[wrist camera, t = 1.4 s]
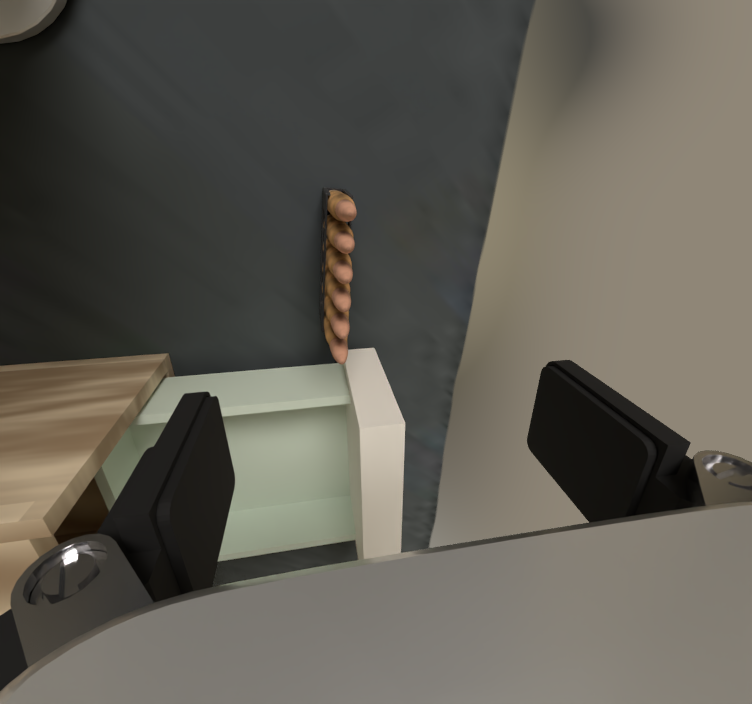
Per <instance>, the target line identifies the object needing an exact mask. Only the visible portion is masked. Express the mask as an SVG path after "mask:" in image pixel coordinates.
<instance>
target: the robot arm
mask: <svg viewBox="0 0 752 704" xmlns="http://www.w3.org/2000/svg"><path fill="white" fill-rule="evenodd" d="M66 2H67V0H0V44H2V43H10V42H18V41H22V40H24V39H27V38H29V37H32V36H34V35H37V34H39V33H40V32H41V31H43V30H44V29H45V28H47V27H48V26H49V25H50V24H52V23H53V22H54V20H55V19H56V18H57V16H58V15H59V14H60V12H61V11H62V10H63V8H64V7H65V5H66ZM527 443H528V447H529V449H530V451H531V452H532V453H533V455H534V456H535V457H536V458H537V459H538V461H539V462H540V463H541V464H542V465H543V467H544V468H545V469H546V470H547V472H548V473H549V474H550V475H551V476H552V477H553V479H554V480H555V481H556V482H557V484H558V485H559V486H560V487H561V489H562V490H563V491H564V492H565V493H566V494H567V496H568V497H569V498H570V499H571V501H572V502H573V503H574V504H575V505H576V507H577V508H578V509H579V510H580V512H581V513H582V514H583V515H584V516H585V518H586V519H587V520H588V521H589V523H584V524H578V525H571V526H565V527H558V528H552V529H546V530H540V531H533V532H527V533H521V534H515V535H509V536H503V537H496V538H490V539H483V540H477V541H471V542H465V543H459V544H453V545H447V546H440V547H435V548H428V549H422V550H416V551H410V552H404V553H398V554H392V555H386V556H380V557H374V558H368V559H362V560H356V561H350V562H344V563H338V564H332V565H326V566H320V567H315V568H309V569H303V570H298V571H293V572H287V573H282V574H276V575H271V576H265V577H260V578H255V579H249V580H244V581H238V582H233V583H228V584H224V585H219V586H215V587H212V584H213V580H214V575H215V571H216V567H217V562H218V558H219V554H220V549H221V545H222V541H223V536H224V532H225V527H226V523H227V519H228V514H229V510H230V506H231V501H232V497H233V493H234V488H235V473H234V468H233V464H232V459H231V455H230V450H229V445H228V441H227V436H226V432H225V427H224V422H223V418H222V413H221V409H220V404H219V400H218V397H217V396H211V395H210V393H209V392H208V391H206V392H195V393H185V394H184V395H183V396H182V398H181V399H180V401H179V403H178V405H177V406H176V408H175V410H174V412H173V414H172V415H171V417H170V419H169V421H168V422H167V424H166V426H165V428H164V429H163V431H162V433H161V435H160V437H159V438H158V440H157V442H156V444H155V445H154V447H150V448H148V449H147V450H146V451H145V452H144V454H143V455H142V457H141V459H140V460H139V462H138V464H137V465H136V467H135V469H134V471H133V472H132V474H131V476H130V477H129V479H128V481H127V482H126V484H125V486H124V488H123V489H122V491H121V493H120V494H119V496H118V498H117V499H116V501H115V503H114V505H113V506H112V508H111V510H110V511H109V513H108V515H107V516H106V518H105V520H104V522H103V523H102V525H101V527H100V528H99V530H98V532H97V533H96V534H87V535H83V536H80V537H76V538H73V539H70V540H68V541H66V542H64V543H62V544H59V545H57V546H55V547H54V548H52V549H51V550H49V551H48V552H46V553H45V554H43V555H42V556H40V557H39V558H38V559H37V560H36V561H35V562H33V563H32V564H31V565H30V566H29V567H28V568H27V569H26V570H25V571H24V573H23V574H22V575H21V576H20V577H19V579H18V580H17V581H16V584H15V586H14V588H13V590H12V592H11V602H10V605H11V609H9V610H8V611H6V612H5V613H3V614H2V615H0V704H752V462H750V461H747V460H745V459H743V458H741V457H738V456H735V455H732V454H729V453H725V452H719V451H709V450H706V451H700V452H698V453H696V454H695V455H694V457H693V459H690V458H689V457H688V456H686V452H687V450H688V448H689V445H690V442H689V441H687V440H686V439H685V438H683V437H682V436H680V435H679V434H677V433H676V432H674V431H673V430H671V429H670V428H668V427H667V426H666V425H664V424H663V423H661V422H660V421H658V420H657V419H655V418H654V417H653V416H651V415H650V414H648V413H646V412H645V411H644V410H642V409H641V408H639V407H638V406H636V405H635V404H634V403H632V402H631V401H629V400H628V399H626V398H625V397H623V396H622V395H621V394H619V393H618V392H616V391H615V390H613V389H612V388H610V387H609V386H607V385H606V384H605V383H603V382H602V381H600V380H599V379H597V378H596V377H594V376H593V375H591V374H590V373H588V372H587V371H586V370H584V369H583V368H581V367H580V366H578V365H577V364H575V363H574V362H572V361H570V360H562V361H552V362H549V363H548V364H547V365H546V367H544V368H543V369H542V371H541V376H540V380H539V385H538V389H537V394H536V399H535V404H534V409H533V413H532V418H531V423H530V428H529V433H528V438H527Z"/></svg>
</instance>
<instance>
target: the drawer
mask: <svg viewBox="0 0 752 704" xmlns="http://www.w3.org/2000/svg"><path fill="white" fill-rule="evenodd" d="M206 391H208V392H209V393H210V395H211V396H217V397H218V400H219V404H220V409H221V413H222V418H223V422H224V427H225V432H226V436H227V441H228V445H229V450H230V455H231V459H232V464H233V468H234V473H235V488H234V493H233V497H232V501H231V506H230V510H229V514H228V519H227V523H226V527H225V532H224V536H223V541H222V545H221V549H220V554H219V558H218V561H224V560H231V559H237V558H243V557H250V556H256V555H262V554H269V553H275V552H281V551H288V550H294V549H300V548H307V547H313V546H319V545H326V544H332V543H338V542H345V541H351V540H355V541H356V549H357V556H358V560H362V559H368V558H374V557H380V556H386V555H392V554H398V553H401V533H402V503H403V473H404V444H405V422H404V419H403V417H402V414H401V412H400V409H399V407H398V404H397V402H396V400H395V397H394V395H393V392H392V390H391V387H390V385H389V383H388V380H387V378H386V375H385V373H384V370H383V368H382V365H381V363H380V361H379V358H378V356H377V353H376V351H375V348H364V349H352V350H348V357H347V360H346V362H345V363H344V364H339V363H334V364H322V365H310V366H298V367H286V368H274V369H262V370H251V371H239V372H227V373H215V374H203V375H191V376H179V377H167V378H163V379H162V380H161V381H160V383H159V384H158V386H157V387H156V389H155V390H154V391H153V393H152V394H151V396H150V397H149V399H148V400H147V401H146V403H145V404H144V406H143V407H142V409H141V410H140V411H139V413H138V414H137V416H136V417H135V419H134V420H133V422H132V423H131V424H130V426H129V427H128V429H127V430H126V432H125V433H124V434H123V436H122V437H121V439H120V440H119V442H118V443H117V444H116V446H115V447H114V449H113V450H112V452H111V453H110V454H109V456H108V457H107V459H106V460H105V462H104V463H103V465H102V466H101V467H100V469H99V470H98V472H97V473H96V475H95V476H94V478H95V480H96V483H97V485H98V487H99V490H100V492H101V494H102V496H103V499H104V501H105V503H106V506H107V508H108V510H109V511H110V510H111V508H112V506H113V505H114V503H115V501H116V499H117V498H118V496H119V494H120V493H121V491H122V489H123V488H124V486H125V484H126V482H127V481H128V479H129V477H130V476H131V474H132V472H133V471H134V469H135V467H136V465H137V464H138V462H139V460H140V459H141V457H142V455H143V454H144V452H145V451H146V450H147V449H148V448H150V447H154V445H155V444H156V442H157V440H158V438H159V437H160V435H161V433H162V431H163V429H164V428H165V426H166V424H167V422H168V421H169V419H170V417H171V415H172V414H173V412H174V410H175V408H176V406H177V405H178V403H179V401H180V399H181V398H182V396H183V395H184V394H185V393H195V392H206Z"/></svg>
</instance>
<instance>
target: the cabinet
mask: <svg viewBox="0 0 752 704" xmlns="http://www.w3.org/2000/svg"><path fill="white" fill-rule="evenodd" d="M167 377H175V375H174V371H173V368H172V364H171V360H170V357H169V353H165V354H151V355H138V356H125V357H111V358H98V359H84V360H71V361H58V362H44V363H31V364H18V365H4V366H0V615H2V614H3V613H5V612H6V611H8V610H9V609H11V605H10V602H11V592H12V590H13V588H14V586H15V584H16V581H17V580H18V579H19V577H20V576H21V575H22V574H23V573H24V571H25V570H26V569H27V568H28V567H29V566H30V565H31V564H32V563H33V562H35V561H36V560H37V559H38V558H39V557H40V556H42V555H43V554H45V553H46V552H48V551H49V550H51V549H52V548H54V547H55V546H57V545H59V544H62V543H64V542H66V541H68V540H70V539H73V538H76V537H80V536H83V535H87V534H96V533H97V532H98V530H99V528H100V527H101V525H102V523H103V522H104V520H105V518H106V516H107V515H108V513H109V510H108V508H107V506H106V503H105V501H104V499H103V496H102V494H101V492H100V490H99V487H98V485H97V483H96V480H95V478H94V476H95V475H96V473H97V472H98V470H99V469H100V467H101V466H102V465H103V463H104V462H105V460H106V459H107V457H108V456H109V454H110V453H111V452H112V450H113V449H114V447H115V446H116V444H117V443H118V442H119V440H120V439H121V437H122V436H123V434H124V433H125V432H126V430H127V429H128V427H129V426H130V424H131V423H132V422H133V420H134V419H135V417H136V416H137V414H138V413H139V411H140V410H141V409H142V407H143V406H144V404H145V403H146V401H147V400H148V399H149V397H150V396H151V394H152V393H153V391H154V390H155V389H156V387H157V386H158V384H159V383H160V381H161V380H162V379H163V378H167Z"/></svg>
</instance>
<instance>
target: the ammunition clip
mask: <svg viewBox="0 0 752 704" xmlns="http://www.w3.org/2000/svg"><path fill="white" fill-rule="evenodd" d="M356 213H357V211H356V207H355V205H354V202H353V196H352V195H351V194H350V193H349V192H347V191H346V190H345V189H336V188H325V187H324V188H323V196H322V236H321V275H320V319H321V327H322V332H325V337H326V340H327V342H328V344H329V346H330V350H331V353H332V355H333V357H334V359H335V360H336V361H337V362H338V363H339V364H344V363H345V362H346V360H347V357H348V346H347V336H348V334H349V319H348V317H349V311H348V310H349V309H350V306H351V297H350V286H349V283H350V281H351V280H352V277H353V271H352V262H351V259H350V252H352V251H353V249H354V245H355V243H354V239H353V233H352V230H351V221H352V220H353V219H354V218H355V217H356ZM346 222H348V225H347V224H346Z"/></svg>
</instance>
